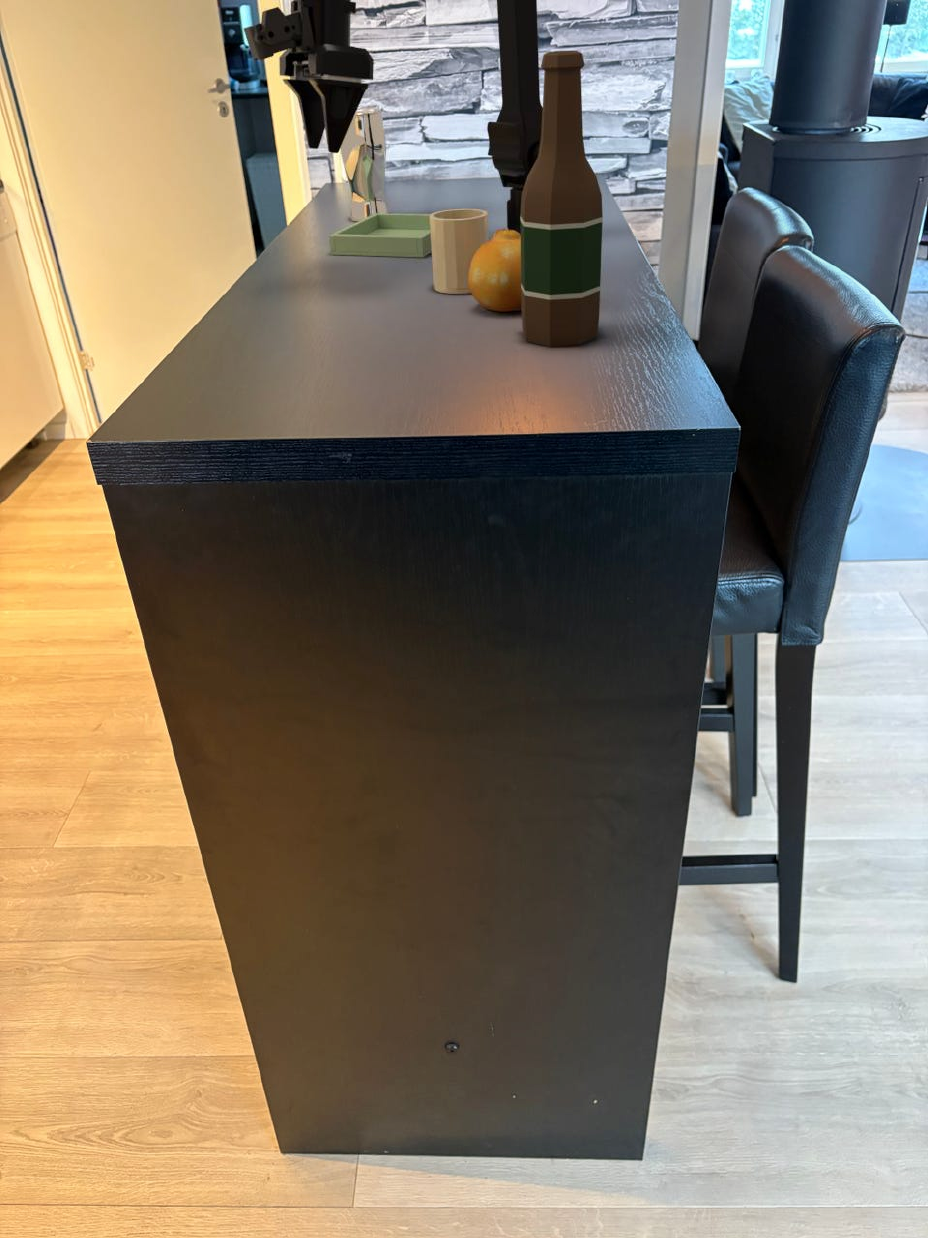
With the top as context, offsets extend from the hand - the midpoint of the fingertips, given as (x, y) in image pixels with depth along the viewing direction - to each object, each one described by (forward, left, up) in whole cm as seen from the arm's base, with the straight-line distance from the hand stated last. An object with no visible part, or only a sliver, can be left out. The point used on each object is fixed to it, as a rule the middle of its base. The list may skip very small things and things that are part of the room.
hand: (323, 150), depth 108 cm
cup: (-17, +1, -14) cm, 22 cm away
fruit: (-25, +9, -15) cm, 30 cm away
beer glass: (+12, -37, -15) cm, 42 cm away
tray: (0, -20, -14) cm, 25 cm away
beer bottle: (-33, +18, -15) cm, 40 cm away
